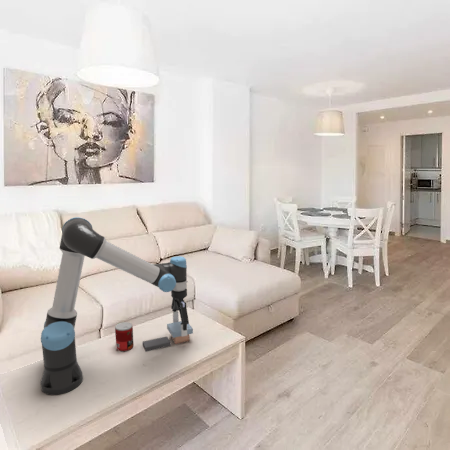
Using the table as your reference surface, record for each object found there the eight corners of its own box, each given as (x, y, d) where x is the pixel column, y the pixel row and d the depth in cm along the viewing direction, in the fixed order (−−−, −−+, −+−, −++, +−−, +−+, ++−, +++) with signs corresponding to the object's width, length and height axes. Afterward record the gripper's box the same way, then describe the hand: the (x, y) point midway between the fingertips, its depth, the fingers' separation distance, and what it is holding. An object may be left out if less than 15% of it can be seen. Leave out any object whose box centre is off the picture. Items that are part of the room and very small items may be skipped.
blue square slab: (172, 337, 164) (172, 332, 164) (167, 328, 173) (167, 323, 173) (192, 333, 169) (192, 328, 168) (186, 324, 178) (186, 320, 177)
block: (145, 351, 161) (145, 347, 160) (142, 345, 166) (142, 341, 166) (170, 345, 166) (170, 342, 165) (167, 340, 171) (167, 336, 171)
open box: (175, 344, 167) (175, 335, 166) (171, 337, 173) (171, 329, 173) (189, 341, 170) (189, 332, 169) (184, 334, 176) (184, 326, 176)
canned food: (131, 351, 161) (129, 329, 159) (113, 351, 161) (112, 329, 159) (135, 343, 168) (134, 322, 166) (119, 342, 168) (117, 321, 166)
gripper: (195, 296, 157) (195, 339, 161) (178, 279, 180) (179, 317, 184) (179, 299, 154) (180, 343, 158) (164, 281, 177) (165, 320, 180)
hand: (179, 329), depth 171 cm, fingers open, 13 cm apart
